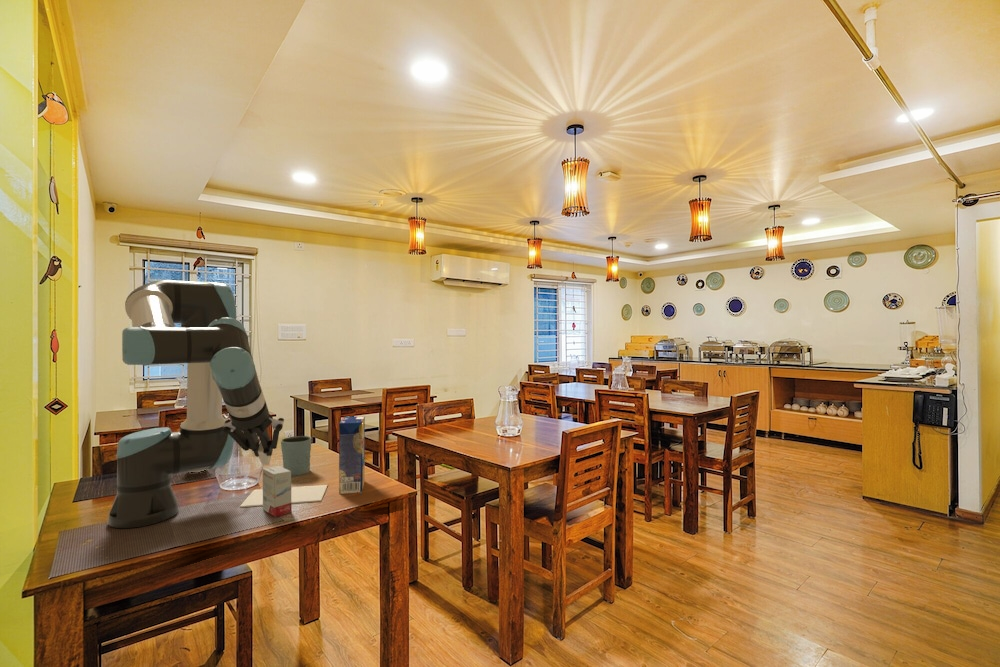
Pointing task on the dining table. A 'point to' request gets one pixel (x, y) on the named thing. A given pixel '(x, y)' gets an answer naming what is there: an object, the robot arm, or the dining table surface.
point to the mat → (297, 495)
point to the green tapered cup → (296, 454)
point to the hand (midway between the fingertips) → (267, 460)
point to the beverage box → (351, 454)
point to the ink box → (277, 491)
